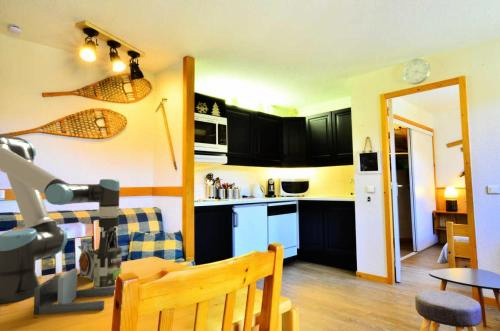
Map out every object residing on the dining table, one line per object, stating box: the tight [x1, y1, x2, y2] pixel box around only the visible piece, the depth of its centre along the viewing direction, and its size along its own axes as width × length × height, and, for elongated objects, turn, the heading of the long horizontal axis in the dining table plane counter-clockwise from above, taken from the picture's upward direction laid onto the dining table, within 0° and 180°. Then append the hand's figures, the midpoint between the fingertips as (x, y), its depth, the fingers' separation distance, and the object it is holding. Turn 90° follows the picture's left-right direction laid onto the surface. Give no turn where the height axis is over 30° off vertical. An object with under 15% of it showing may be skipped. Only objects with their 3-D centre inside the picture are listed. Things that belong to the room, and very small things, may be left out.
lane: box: [33, 274, 116, 316], centre depth 100 cm, size 20×14×8 cm
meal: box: [77, 245, 94, 283], centre depth 128 cm, size 15×4×13 cm, turn 52°
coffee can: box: [92, 246, 123, 289], centre depth 119 cm, size 10×10×14 cm
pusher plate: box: [57, 268, 78, 304], centre depth 99 cm, size 2×11×10 cm, turn 10°
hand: (107, 271), depth 119 cm, fingers open, 12 cm apart
